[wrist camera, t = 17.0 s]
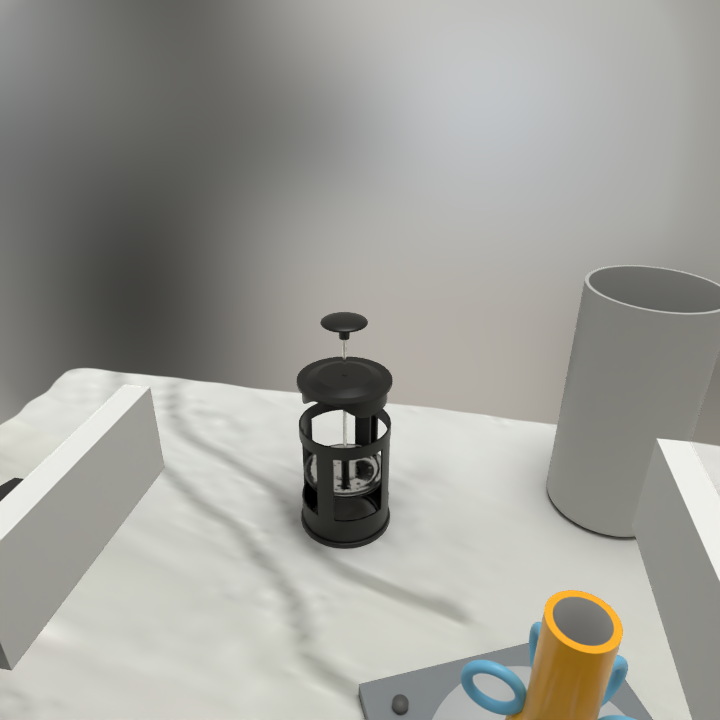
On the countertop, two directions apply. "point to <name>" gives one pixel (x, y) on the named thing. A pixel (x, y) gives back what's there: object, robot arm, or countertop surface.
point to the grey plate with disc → (450, 701)
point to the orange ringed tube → (561, 664)
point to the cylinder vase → (630, 387)
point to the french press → (345, 441)
